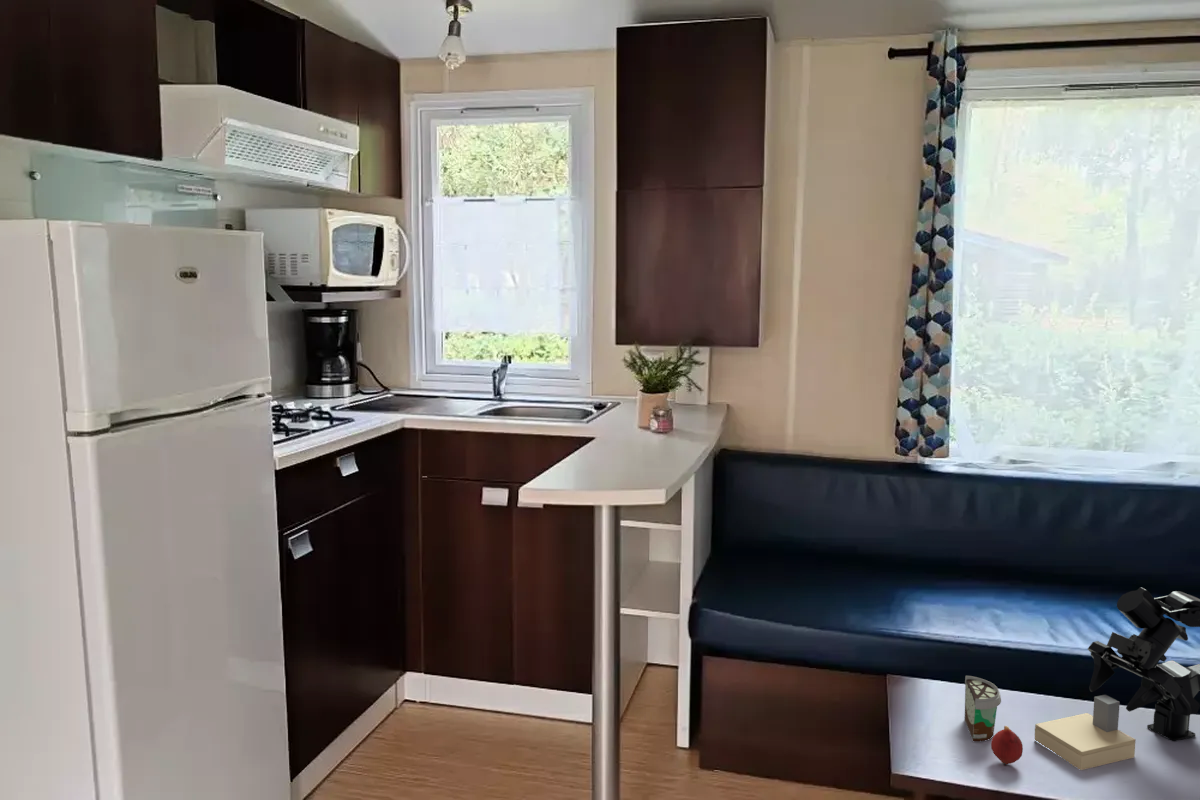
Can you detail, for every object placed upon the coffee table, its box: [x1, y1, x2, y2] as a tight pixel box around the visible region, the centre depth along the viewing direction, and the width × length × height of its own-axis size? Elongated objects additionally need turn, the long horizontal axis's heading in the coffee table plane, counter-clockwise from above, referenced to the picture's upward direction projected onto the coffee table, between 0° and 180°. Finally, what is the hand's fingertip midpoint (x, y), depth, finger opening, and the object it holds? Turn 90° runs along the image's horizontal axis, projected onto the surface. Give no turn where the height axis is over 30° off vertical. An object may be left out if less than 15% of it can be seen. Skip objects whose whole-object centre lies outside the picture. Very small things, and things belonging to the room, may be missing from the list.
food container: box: [964, 675, 1002, 743], centre depth 197 cm, size 12×6×10 cm, turn 168°
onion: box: [990, 725, 1024, 765], centre depth 185 cm, size 6×6×8 cm
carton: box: [1034, 727, 1136, 771], centre depth 190 cm, size 14×12×3 cm
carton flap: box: [1034, 694, 1136, 756], centre depth 190 cm, size 14×12×7 cm
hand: (1108, 700), depth 191 cm, fingers open, 9 cm apart
